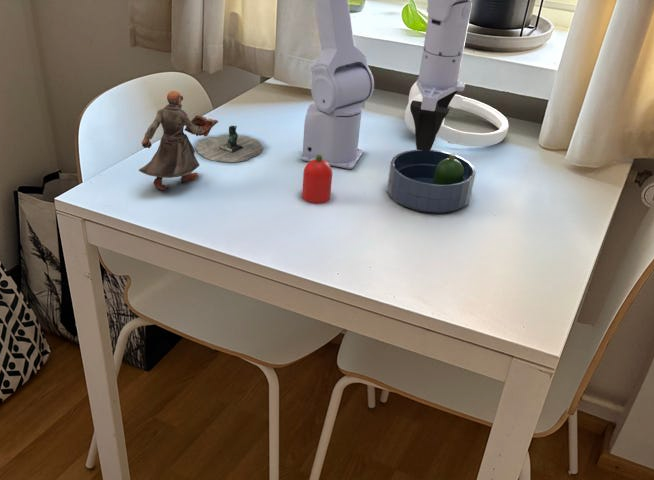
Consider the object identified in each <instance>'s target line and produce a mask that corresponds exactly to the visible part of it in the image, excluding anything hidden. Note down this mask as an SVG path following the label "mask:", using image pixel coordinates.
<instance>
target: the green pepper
mask: <svg viewBox="0 0 654 480" xmlns="http://www.w3.org/2000/svg"><path fill="white" fill-rule="evenodd" d="M456 155H457V154H455V153H451V154H450V156H449V158H446V159H444V160H442V161H440V162H439V163H438V165H437V166H436V169H435V173H434V179H433V184H438V185H448V184H456V183H461V182H462V180H463V175H464V169H463V166H462V164H461V163H460V162H459V161H458V160H456V159H455V156H456Z"/></svg>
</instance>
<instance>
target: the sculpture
mask: <svg viewBox="0 0 654 480" xmlns="http://www.w3.org/2000/svg"><path fill="white" fill-rule="evenodd" d="M264 148H265V147H264V145H263V144H262V143H261V142H259V140H258V139H256V138H251V137H249V136H246V135H242V134H241V135H240V134H239V133H238V132H237V125H230V126H228V134H222V135H219V136H206V137H204V138H201V139H199V140H198V141H197V142H196V144H195V146H194V150H195V151H196V153H197V154H199V155H201V157H203V158H204V159H206V160H209V161H212V162H224V163H239V162H244V161H249V160H250V159H251V158H253V157H257V156H258V155H260V154H263V150H264Z"/></svg>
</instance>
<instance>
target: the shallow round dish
mask: <svg viewBox="0 0 654 480" xmlns="http://www.w3.org/2000/svg"><path fill="white" fill-rule="evenodd" d="M450 154H452V153H451V152H447V151H443V150H436V149H431V150H430V151H429V152H428V151H422V150H417V149H411V150H405V151H402V152H399V153H397V154H396V155H394V156H393V157H392V159H391V161H390V162H389V163H390V164H389V171H388V179H387V185H386V188H387V193H388V195H389V196H390V197H391V198H392V199H393V200H394V201H395V202H397V203H398V204H399V205H401V206H402V207H403V206H404V207H406V208H408V209H410V210H413V211H417V212H422V213H430V214H434V213H435V214H443V213H449V212H453V211H457V210H460V209H462V208H464V207H466V205H468V204H469V203H470V200H471V196H472V191H473V187H474V183H475V178H476V173H477V171H476V168H475V166H474V165H473V164H472V163H471V162H470V161H468V160H467V159H465V158H464V157H462V156H460V155H457V154H455V155H456V156H455V159H456V160H458V161H459V162H460V163H461V164H462V166H463V169H464V175H463V180H462V182H461V183H456V184H448V185H438V184H433V179H434V173H435V169H436V166H437V165H438V163H439V162H440V161H442V160H444V159H446V158H449V156H450Z"/></svg>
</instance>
